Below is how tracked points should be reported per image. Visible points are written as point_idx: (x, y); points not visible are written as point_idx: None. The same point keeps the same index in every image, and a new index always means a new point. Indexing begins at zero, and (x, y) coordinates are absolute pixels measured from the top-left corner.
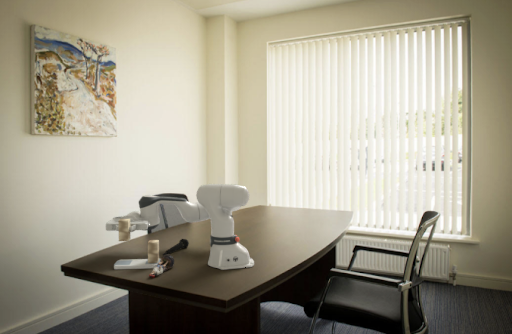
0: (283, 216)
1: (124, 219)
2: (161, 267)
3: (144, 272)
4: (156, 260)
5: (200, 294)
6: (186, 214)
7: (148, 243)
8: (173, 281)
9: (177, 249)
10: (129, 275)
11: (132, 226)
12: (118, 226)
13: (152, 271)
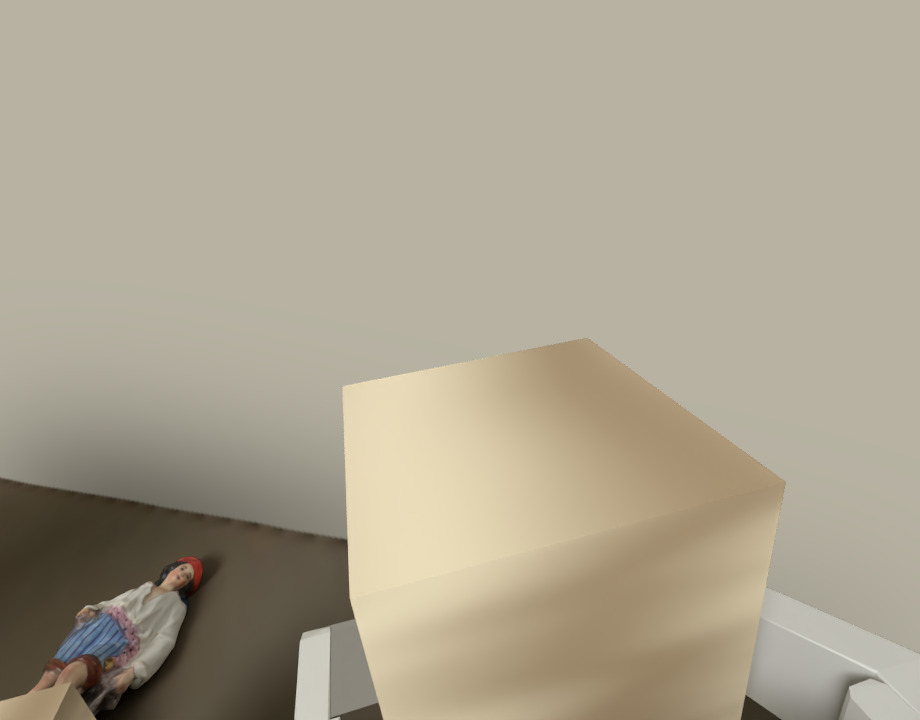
0: None
1: (524, 434)
2: (81, 610)
3: (237, 672)
4: None
5: (4, 479)
6: None
7: (67, 695)
8: (63, 565)
9: None
10: (344, 592)
11: (298, 706)
12: (838, 708)
13: (167, 593)
